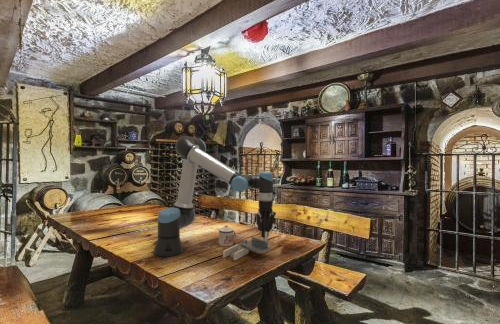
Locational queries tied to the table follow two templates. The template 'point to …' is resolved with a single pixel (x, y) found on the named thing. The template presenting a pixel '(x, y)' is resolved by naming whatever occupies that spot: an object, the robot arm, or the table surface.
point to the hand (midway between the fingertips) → (264, 243)
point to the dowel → (233, 254)
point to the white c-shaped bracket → (237, 254)
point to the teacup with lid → (226, 236)
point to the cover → (255, 245)
